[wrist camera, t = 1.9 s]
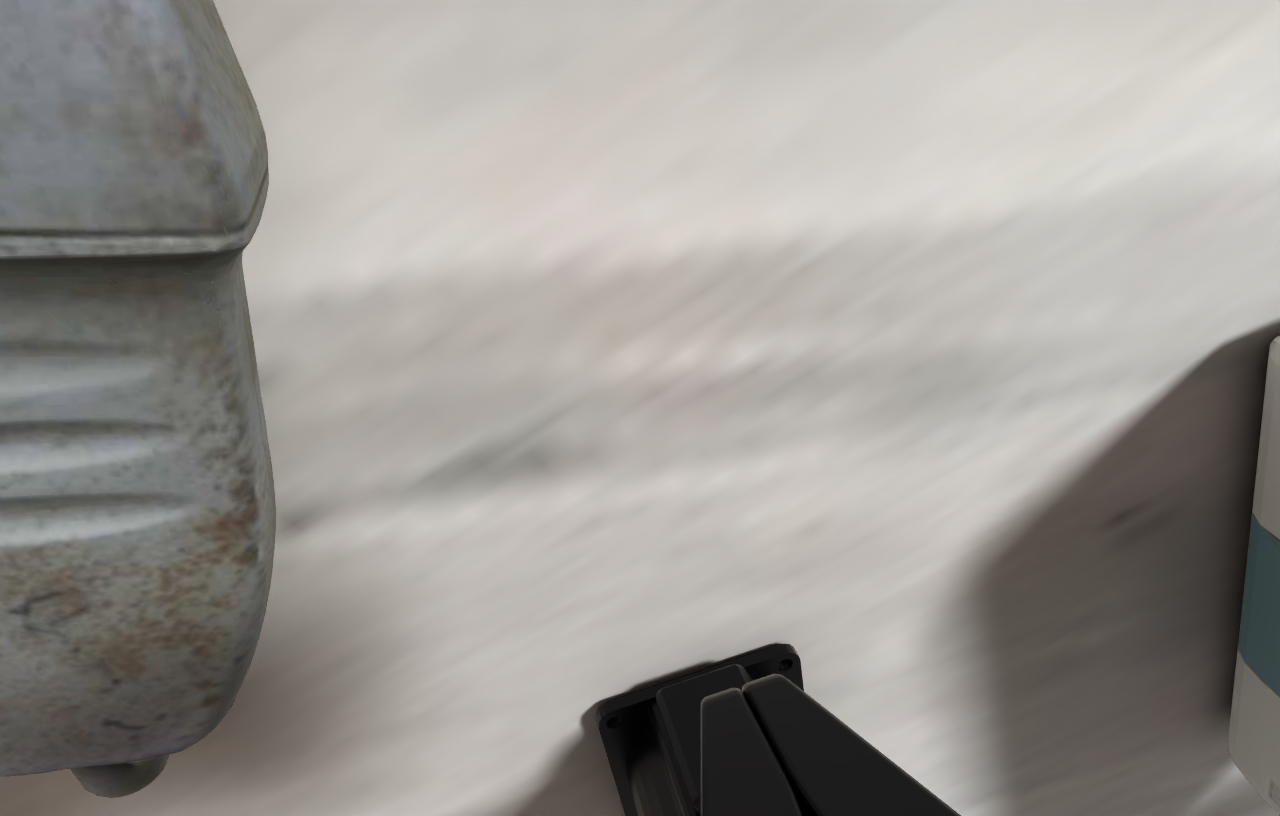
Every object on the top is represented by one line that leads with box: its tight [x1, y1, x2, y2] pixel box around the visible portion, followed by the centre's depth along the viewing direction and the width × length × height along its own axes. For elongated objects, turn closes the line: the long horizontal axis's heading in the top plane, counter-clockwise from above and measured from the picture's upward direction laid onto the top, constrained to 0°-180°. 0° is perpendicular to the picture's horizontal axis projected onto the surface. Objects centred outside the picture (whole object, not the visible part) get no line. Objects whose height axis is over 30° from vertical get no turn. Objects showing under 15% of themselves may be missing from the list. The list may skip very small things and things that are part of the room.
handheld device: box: [0, 0, 276, 798], centre depth 17 cm, size 10×20×5 cm, turn 175°
